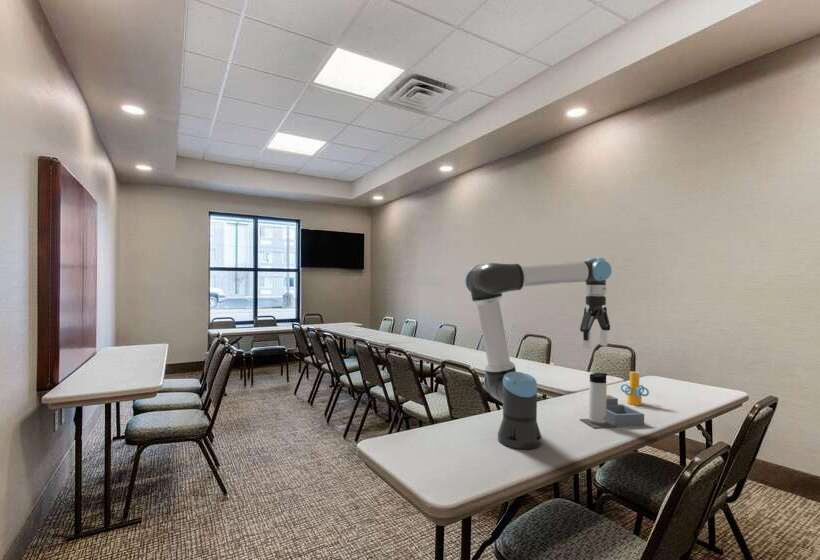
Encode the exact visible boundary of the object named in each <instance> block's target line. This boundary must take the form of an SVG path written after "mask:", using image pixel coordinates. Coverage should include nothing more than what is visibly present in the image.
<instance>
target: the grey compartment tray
mask: <svg viewBox="0 0 820 560" xmlns="http://www.w3.org/2000/svg"><path fill="white" fill-rule="evenodd" d="M607 395H608V396H609V398H606V421H608V422H610V423H612V424H614V425H615V426H617V427H631V426H632V427H634V426H639V427H640V426H645V413H643V412H641V411H638V410H636V409H634V408H631V407H630V406H627V405H624V404H623V403H622V404H619V399H618V397H615V396H613V395H610V394H607Z"/></svg>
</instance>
